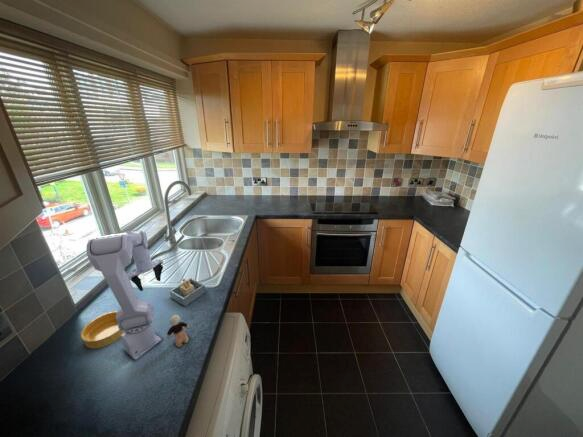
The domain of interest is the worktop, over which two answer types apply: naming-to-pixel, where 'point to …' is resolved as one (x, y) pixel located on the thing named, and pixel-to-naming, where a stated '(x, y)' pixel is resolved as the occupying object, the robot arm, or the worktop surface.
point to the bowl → (101, 331)
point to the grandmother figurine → (178, 330)
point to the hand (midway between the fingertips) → (150, 285)
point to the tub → (188, 299)
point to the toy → (186, 288)
